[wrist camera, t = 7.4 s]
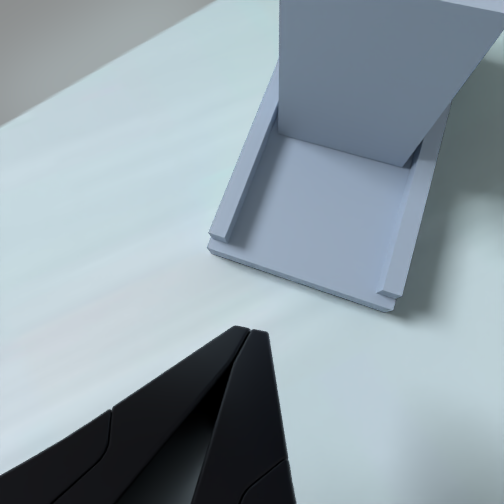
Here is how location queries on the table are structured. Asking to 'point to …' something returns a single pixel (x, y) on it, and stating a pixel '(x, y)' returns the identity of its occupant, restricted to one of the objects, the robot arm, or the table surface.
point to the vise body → (324, 211)
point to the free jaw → (377, 69)
